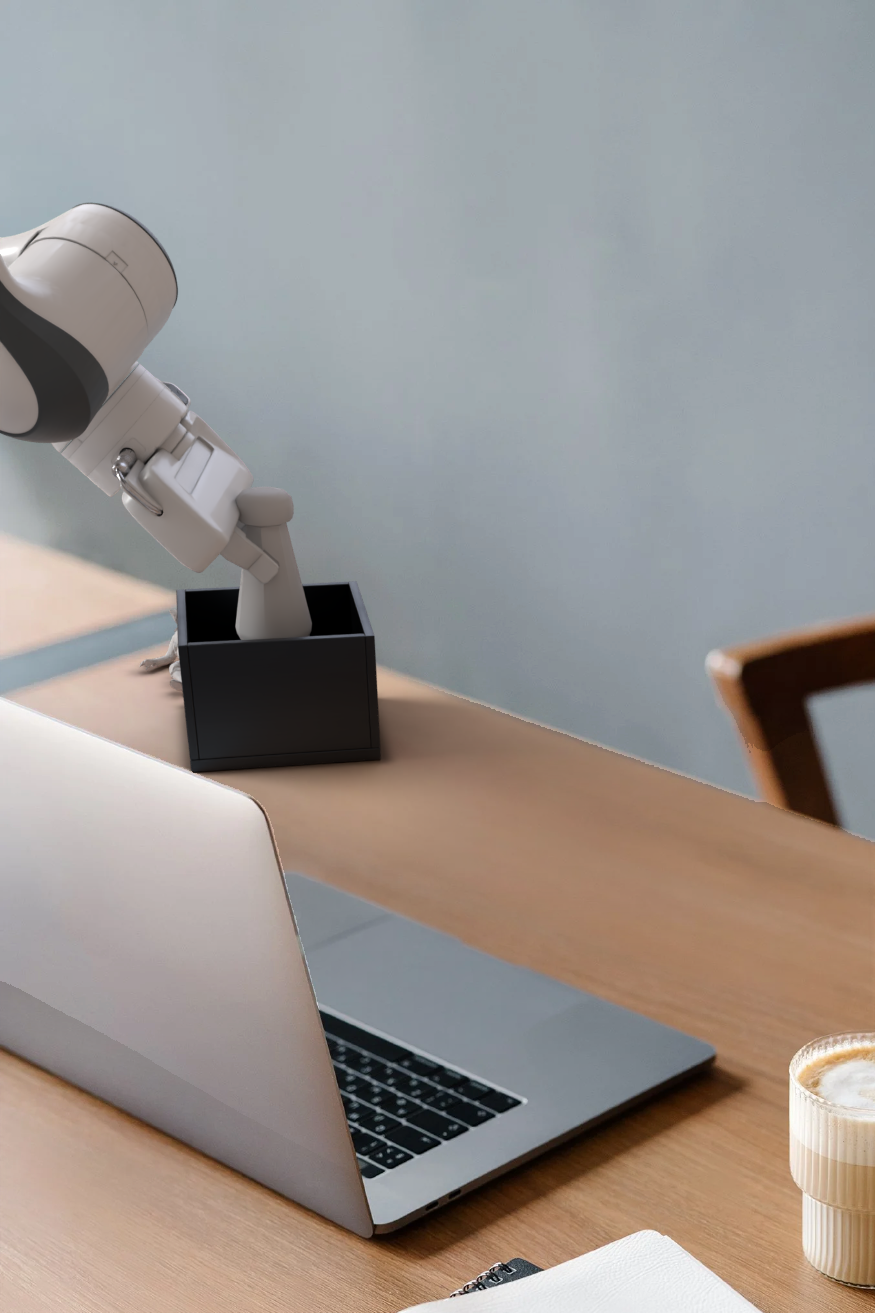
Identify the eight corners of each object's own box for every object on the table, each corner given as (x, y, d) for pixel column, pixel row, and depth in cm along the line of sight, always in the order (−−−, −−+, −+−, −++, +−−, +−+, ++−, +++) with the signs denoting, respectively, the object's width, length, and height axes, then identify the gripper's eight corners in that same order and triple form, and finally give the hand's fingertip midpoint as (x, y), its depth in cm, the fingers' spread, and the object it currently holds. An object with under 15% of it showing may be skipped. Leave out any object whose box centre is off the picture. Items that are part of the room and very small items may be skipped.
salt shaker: (248, 642, 144) (234, 478, 138) (319, 644, 144) (308, 481, 138) (231, 666, 139) (215, 497, 133) (305, 668, 139) (293, 500, 133)
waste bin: (191, 772, 137) (177, 645, 132) (188, 707, 149) (176, 589, 145) (381, 759, 140) (374, 635, 135) (363, 696, 152) (356, 580, 148)
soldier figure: (145, 707, 152) (121, 624, 159) (189, 734, 155) (163, 651, 163) (207, 646, 150) (180, 565, 157) (250, 675, 153) (222, 594, 161)
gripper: (137, 437, 123) (293, 577, 128) (178, 379, 141) (313, 504, 146) (79, 503, 125) (235, 638, 130) (126, 437, 142) (261, 558, 148)
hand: (276, 566), depth 138 cm, fingers closed on salt shaker, 3 cm apart
